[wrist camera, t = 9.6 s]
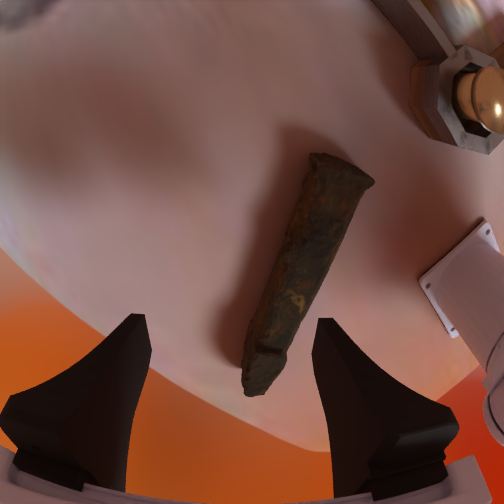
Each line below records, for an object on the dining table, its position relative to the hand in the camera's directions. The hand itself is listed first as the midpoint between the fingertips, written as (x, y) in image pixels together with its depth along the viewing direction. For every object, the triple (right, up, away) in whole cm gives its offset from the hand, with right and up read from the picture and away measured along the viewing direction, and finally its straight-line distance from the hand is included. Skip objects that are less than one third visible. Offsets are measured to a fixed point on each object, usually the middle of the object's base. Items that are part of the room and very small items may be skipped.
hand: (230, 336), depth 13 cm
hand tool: (+4, +1, +10) cm, 11 cm away
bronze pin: (+14, +14, +4) cm, 20 cm away
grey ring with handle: (+12, +16, +3) cm, 20 cm away
